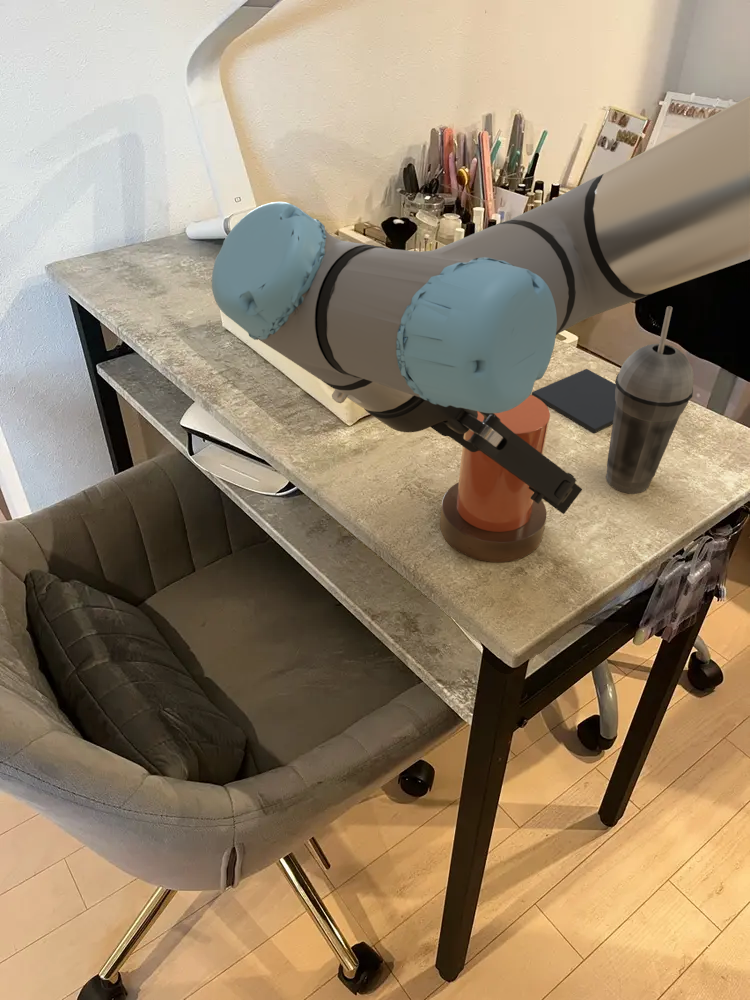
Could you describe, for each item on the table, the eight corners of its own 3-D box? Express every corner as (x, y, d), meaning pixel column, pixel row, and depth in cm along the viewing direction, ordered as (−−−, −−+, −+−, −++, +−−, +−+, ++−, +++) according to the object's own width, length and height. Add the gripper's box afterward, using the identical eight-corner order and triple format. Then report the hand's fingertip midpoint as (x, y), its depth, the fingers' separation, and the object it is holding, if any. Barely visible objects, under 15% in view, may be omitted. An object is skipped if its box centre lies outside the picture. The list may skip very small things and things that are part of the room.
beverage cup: (676, 482, 81) (735, 305, 69) (638, 511, 77) (692, 329, 65) (617, 452, 85) (662, 280, 73) (578, 478, 81) (618, 301, 69)
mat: (649, 406, 93) (650, 402, 92) (594, 433, 88) (595, 429, 88) (585, 372, 99) (586, 368, 99) (531, 396, 94) (531, 391, 94)
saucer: (564, 534, 74) (568, 515, 73) (489, 577, 70) (492, 557, 68) (492, 483, 81) (495, 464, 79) (419, 519, 76) (420, 500, 74)
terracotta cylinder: (547, 512, 73) (567, 415, 66) (492, 542, 70) (507, 443, 63) (495, 475, 78) (508, 380, 71) (441, 502, 74) (449, 404, 67)
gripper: (274, 343, 63) (407, 434, 80) (481, 497, 48) (593, 570, 65) (325, 266, 62) (450, 374, 79) (554, 398, 47) (648, 498, 64)
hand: (515, 462), depth 72 cm, fingers open, 13 cm apart
